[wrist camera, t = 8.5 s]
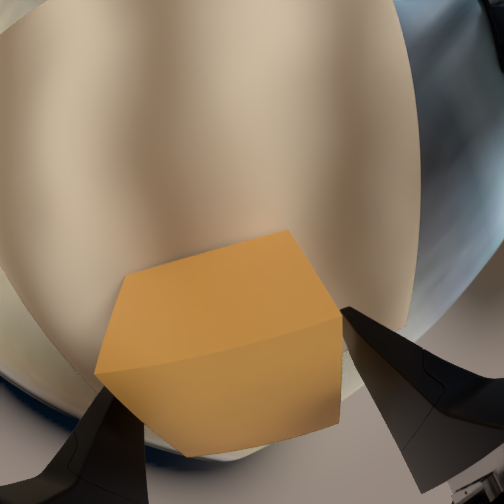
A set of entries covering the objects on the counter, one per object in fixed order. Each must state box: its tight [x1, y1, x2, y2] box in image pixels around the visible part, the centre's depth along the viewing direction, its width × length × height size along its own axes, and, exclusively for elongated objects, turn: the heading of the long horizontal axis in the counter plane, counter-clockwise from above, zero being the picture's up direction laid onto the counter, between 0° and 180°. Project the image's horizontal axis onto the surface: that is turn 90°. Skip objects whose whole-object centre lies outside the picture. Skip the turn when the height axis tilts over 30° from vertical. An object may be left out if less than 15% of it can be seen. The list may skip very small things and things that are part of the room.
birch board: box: [0, 0, 421, 394], centre depth 8 cm, size 18×19×5 cm
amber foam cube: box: [94, 229, 343, 457], centre depth 9 cm, size 6×6×4 cm
